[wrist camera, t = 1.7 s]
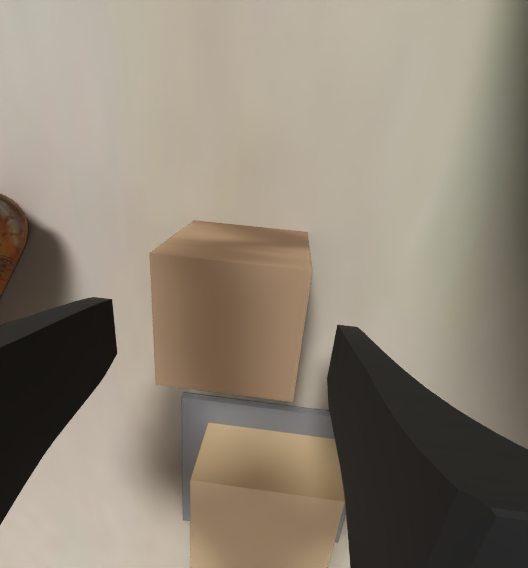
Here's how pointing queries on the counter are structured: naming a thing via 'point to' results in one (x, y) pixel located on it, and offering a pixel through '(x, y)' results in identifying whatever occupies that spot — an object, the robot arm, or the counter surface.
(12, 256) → the tin
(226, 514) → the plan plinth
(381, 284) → the counter surface
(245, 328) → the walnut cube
